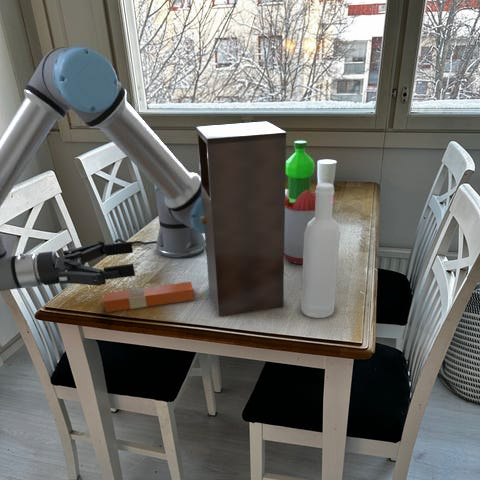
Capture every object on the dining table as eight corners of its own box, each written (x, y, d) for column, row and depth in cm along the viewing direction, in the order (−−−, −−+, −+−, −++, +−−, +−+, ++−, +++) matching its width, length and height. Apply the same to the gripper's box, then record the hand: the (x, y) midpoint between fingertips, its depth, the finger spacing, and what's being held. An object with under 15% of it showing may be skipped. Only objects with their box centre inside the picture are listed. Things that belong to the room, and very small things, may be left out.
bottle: (316, 322, 107) (324, 193, 91) (294, 308, 112) (297, 184, 96) (341, 311, 111) (353, 185, 95) (318, 298, 116) (325, 177, 100)
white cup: (337, 184, 201) (339, 160, 195) (330, 188, 195) (332, 164, 190) (320, 182, 204) (322, 158, 199) (313, 186, 199) (314, 162, 193)
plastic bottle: (281, 217, 168) (282, 144, 155) (288, 207, 176) (289, 138, 163) (308, 219, 165) (311, 145, 152) (314, 209, 173) (317, 139, 160)
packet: (105, 312, 114) (103, 301, 112) (106, 303, 118) (103, 293, 116) (194, 300, 118) (193, 289, 116) (192, 291, 122) (190, 281, 120)
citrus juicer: (311, 241, 148) (314, 177, 137) (340, 262, 134) (346, 193, 123) (266, 250, 143) (266, 185, 133) (292, 272, 129) (294, 201, 119)
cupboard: (267, 281, 125) (267, 121, 104) (283, 307, 113) (286, 132, 92) (205, 290, 122) (191, 127, 101) (214, 317, 110) (201, 139, 89)
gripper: (27, 278, 95) (132, 264, 98) (42, 234, 116) (129, 225, 119) (36, 309, 99) (137, 295, 102) (50, 262, 119) (133, 252, 123)
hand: (133, 257), depth 111 cm, fingers open, 13 cm apart
